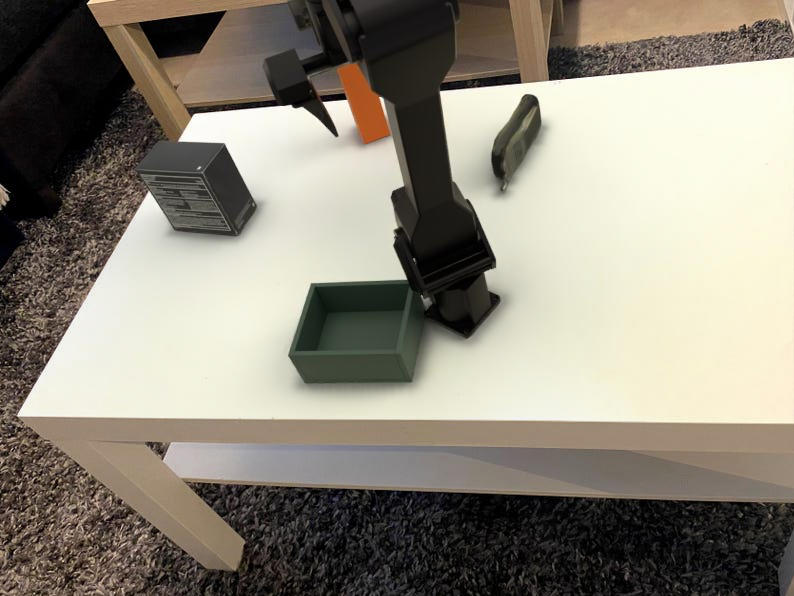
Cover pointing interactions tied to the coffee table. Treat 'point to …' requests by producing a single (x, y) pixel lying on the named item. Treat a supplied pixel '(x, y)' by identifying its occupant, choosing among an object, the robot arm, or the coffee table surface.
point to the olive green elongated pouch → (515, 138)
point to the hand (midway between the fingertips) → (373, 121)
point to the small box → (197, 186)
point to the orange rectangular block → (363, 104)
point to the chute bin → (358, 332)
